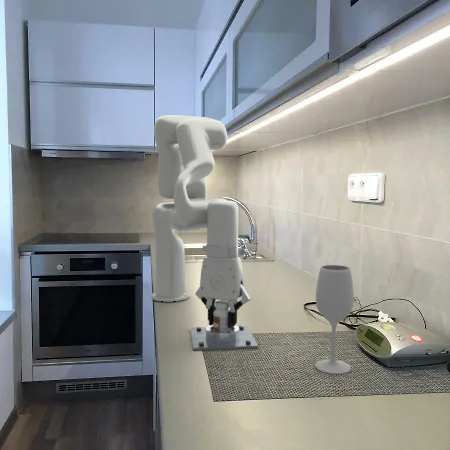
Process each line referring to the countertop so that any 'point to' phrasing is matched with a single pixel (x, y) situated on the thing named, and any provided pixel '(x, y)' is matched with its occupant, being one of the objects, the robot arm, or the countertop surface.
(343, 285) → the wineglass
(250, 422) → the countertop surface
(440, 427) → the countertop surface
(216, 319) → the pill bottle
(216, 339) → the duct collar
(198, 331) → the flange plate
